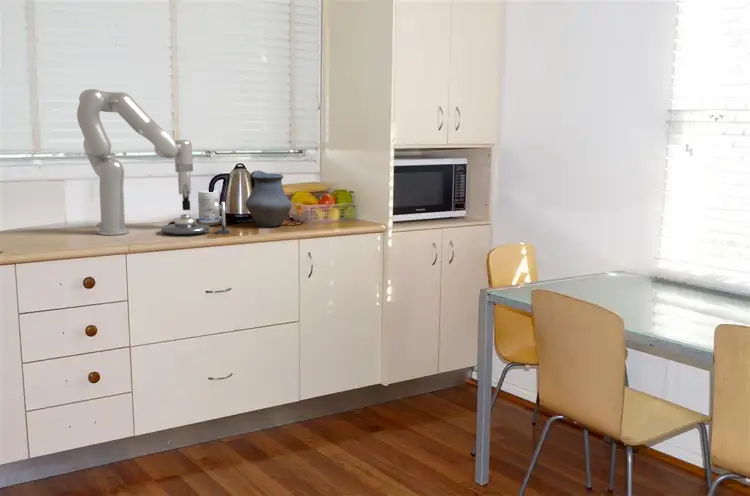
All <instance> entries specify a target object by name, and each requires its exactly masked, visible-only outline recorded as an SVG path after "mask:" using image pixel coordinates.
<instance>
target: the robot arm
mask: <svg viewBox="0 0 750 496" xmlns="http://www.w3.org/2000/svg"><path fill="white" fill-rule="evenodd" d="M78 101H79V103H78V107H77V111H76V118H77V119H76V120H77V123H78V125H79V127H80V128H79V129H80V130H81V133H82V135H83V137H84V140H83V149H84V152H85V154H86V156H87V158H88V160H89V163H90V165H91V167H92V169H93V171H94V172H95V173H94V174H96V176H97V177H99V188H98V189H99V208H100V222H98V223H96V227H97V228H99V229H98V230H97V234H98V235H103V236H117V235H119V236H120V235H126V234H129V233H130V229H128V228H126V221H125V219H126V218H125V214H126V213H125V197H124V181H125V169H124V166H123V164H122V163H121V161H120V160H119V159H116V158H114V156H113V155H112V152H111V151H112V150H111V149H112V143H111V140H110V138H109V137H108V134H107V132H106V131H105V128H104V126H103V123H102V120H101V116H100V112H102V113H117V114H118V115H119V116H120V117H121V118H122V119H123V120H124V121H125V122H126V123H127V125H129V126H130V127H131V128H132V130H133V131H134V132H135V133H138V135H140V136H142V137H143V138H145V139H146V140H148V141H149V142H150V143H151V144H152V145H154V152H155V154H156V155H157V156H158V157H160V158H166V159H173V158H174V169H175V173H177V184H178V194H179V195H180V196H181V195H182V200H181V201H182V203H181V204H182V210H183V211H191V200H190V195H191V191H192V190H191V189H192V181H191V179H192V178H191V173H193V172H194V166H193V164H194V162H193V150H192V149H193V147H192V141H191V140H190V139H177V140H174V139H173V138H172V137H171V136H170V134H168V133H167V132H166V130H165V129H163V128H162V127H161V126H160V125H159V124H158V123H157V122H156V121H155V120H154V119H152V118H151V117H150V116H149V115H148V113H146V112H145V110H144V109H143V108H142V107H141V106H140V105H139V104H138V103H137V102H136V100H134V98H133V97H132V96H131V95H129V94H128V93H126V92H120V91H119V92H118V91H117V92H116V91H115V92H114V91H102V90H99V89H96V88H89V89H85V90H83V91H82V92H81V93H80V95H79V98H78Z"/></svg>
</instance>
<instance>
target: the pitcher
mask: <svg viewBox="0 0 750 496" xmlns="http://www.w3.org/2000/svg"><path fill="white" fill-rule="evenodd" d="M283 178H284V175H283V174H282V173H269V172H265V171H262V170H254V171H252V172H251V174H250V178H249V181H250V182H249V183H250V187H251V192H250V194H249V196H248V198H247V199H246V201H245V203H244V205H245V208H246V209H247V210H248V212H249V214H250V215H251V217H252V220H254V222H255V224H256V226H257V227H261V228H274V227H279V226H282V224H284V221H285V220H286V218H287V216H288V215H289V213H290V211H291V209H292V203H291V201H290V199H289V197H288V196H287V194H286V193H285V190H284V187H283V183H282V180H283Z"/></svg>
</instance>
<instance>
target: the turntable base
mask: <svg viewBox="0 0 750 496" xmlns="http://www.w3.org/2000/svg"><path fill="white" fill-rule="evenodd" d="M197 234H198V233H193V234H176V235H177V236H188V235H189V236H191V235H197Z"/></svg>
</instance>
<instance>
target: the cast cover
mask: <svg viewBox="0 0 750 496" xmlns="http://www.w3.org/2000/svg"><path fill="white" fill-rule="evenodd" d="M174 224H175V226H177V227H193V226H196V224H197V218H196V217H193V216H192V217H191V215H190V214H180V217H176V218H174Z"/></svg>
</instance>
